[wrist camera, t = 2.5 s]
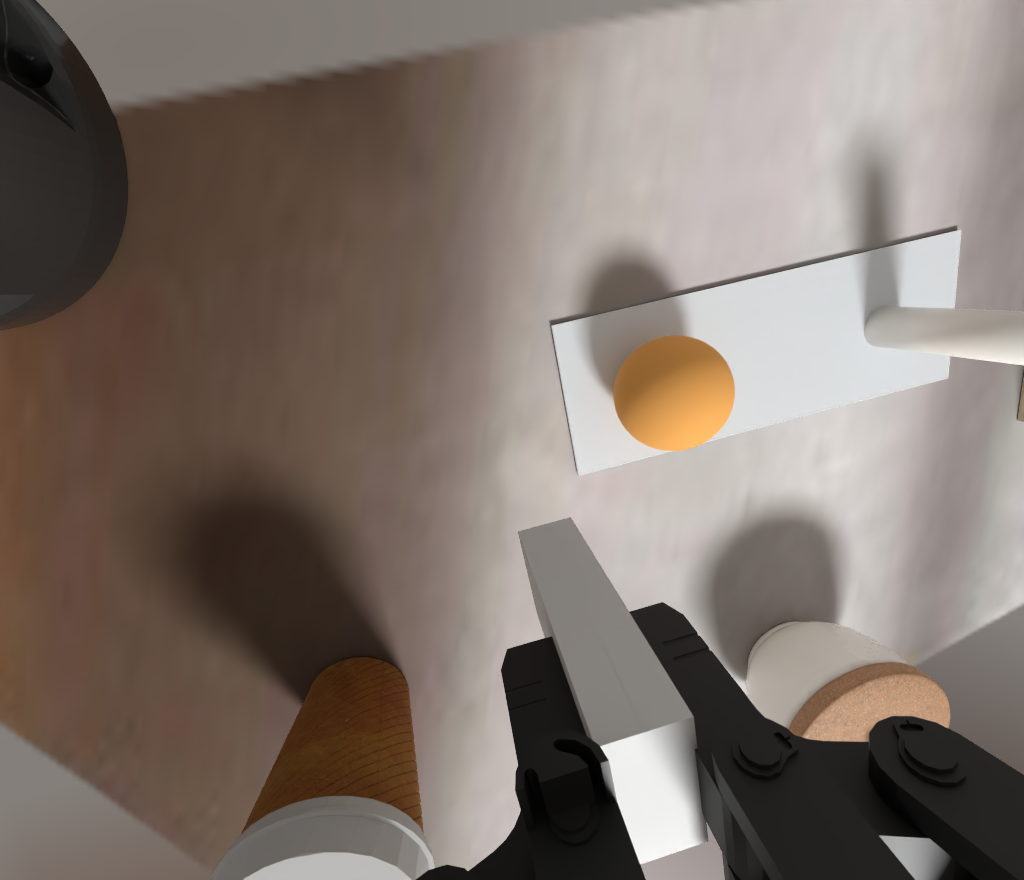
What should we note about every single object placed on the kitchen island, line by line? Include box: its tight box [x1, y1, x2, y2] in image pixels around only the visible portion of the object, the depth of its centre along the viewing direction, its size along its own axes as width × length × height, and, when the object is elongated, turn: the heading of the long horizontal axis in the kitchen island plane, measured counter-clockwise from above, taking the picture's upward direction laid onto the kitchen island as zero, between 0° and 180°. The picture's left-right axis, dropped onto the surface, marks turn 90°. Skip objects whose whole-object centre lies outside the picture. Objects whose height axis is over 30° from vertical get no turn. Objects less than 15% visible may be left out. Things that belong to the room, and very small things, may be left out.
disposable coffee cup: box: [211, 657, 435, 880], centre depth 26 cm, size 10×10×12 cm
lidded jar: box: [746, 621, 950, 742], centre depth 32 cm, size 11×11×9 cm
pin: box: [864, 306, 1024, 365], centre depth 25 cm, size 2×2×8 cm
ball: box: [613, 335, 735, 451], centre depth 25 cm, size 6×6×6 cm
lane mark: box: [551, 230, 961, 476], centre depth 29 cm, size 25×9×1 cm, turn 102°
